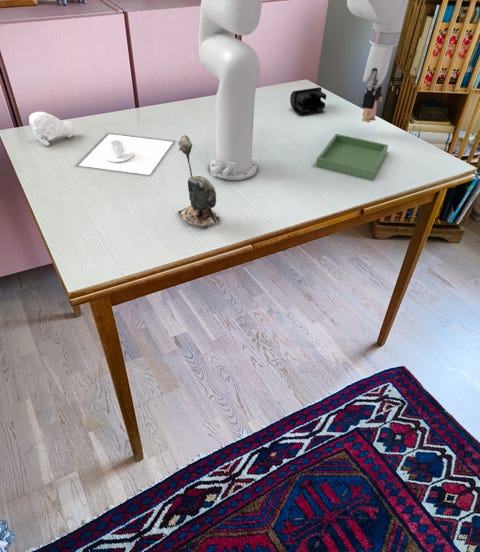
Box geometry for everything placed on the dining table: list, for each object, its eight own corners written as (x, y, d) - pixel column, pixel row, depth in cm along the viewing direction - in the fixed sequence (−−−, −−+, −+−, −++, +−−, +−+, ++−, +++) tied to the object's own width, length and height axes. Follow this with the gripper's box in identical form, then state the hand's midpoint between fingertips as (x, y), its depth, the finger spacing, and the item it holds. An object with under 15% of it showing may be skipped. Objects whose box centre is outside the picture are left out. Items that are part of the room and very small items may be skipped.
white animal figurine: (25, 109, 128) (69, 105, 134) (30, 139, 134) (72, 134, 139) (30, 117, 124) (75, 113, 130) (36, 147, 130) (79, 142, 135)
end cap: (314, 104, 160) (316, 84, 155) (325, 112, 155) (328, 91, 151) (288, 108, 157) (290, 88, 152) (299, 116, 152) (301, 95, 147)
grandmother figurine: (369, 115, 142) (378, 72, 134) (380, 118, 140) (389, 75, 132) (354, 121, 138) (362, 77, 130) (365, 125, 136) (374, 80, 128)
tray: (372, 179, 122) (374, 171, 120) (315, 166, 127) (317, 158, 125) (386, 152, 134) (388, 145, 132) (334, 141, 139) (335, 133, 137)
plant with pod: (194, 238, 101) (190, 153, 87) (175, 211, 108) (169, 130, 95) (227, 228, 104) (228, 145, 90) (207, 203, 111) (205, 123, 98)
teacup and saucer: (112, 147, 132) (109, 133, 129) (138, 150, 131) (136, 136, 128) (98, 161, 125) (96, 147, 123) (126, 165, 124) (124, 150, 121)
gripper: (378, 27, 131) (365, 92, 143) (362, 43, 119) (350, 111, 131) (405, 31, 129) (389, 96, 140) (392, 47, 117) (376, 116, 129)
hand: (370, 103), depth 136 cm, fingers closed on grandmother figurine, 6 cm apart
